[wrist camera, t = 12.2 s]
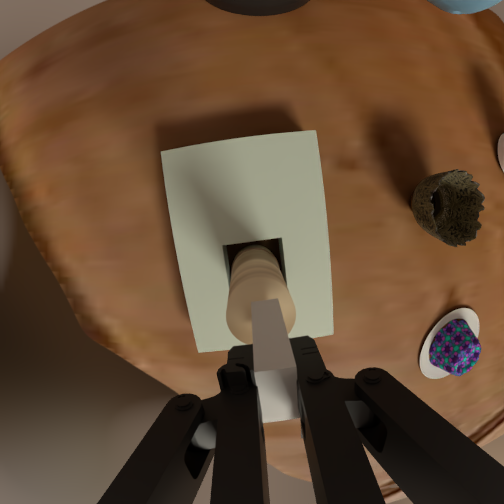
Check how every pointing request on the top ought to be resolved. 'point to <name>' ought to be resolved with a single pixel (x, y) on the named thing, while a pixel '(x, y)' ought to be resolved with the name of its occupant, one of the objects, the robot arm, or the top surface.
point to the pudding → (452, 345)
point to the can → (501, 151)
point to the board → (250, 225)
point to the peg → (255, 290)
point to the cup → (448, 206)
